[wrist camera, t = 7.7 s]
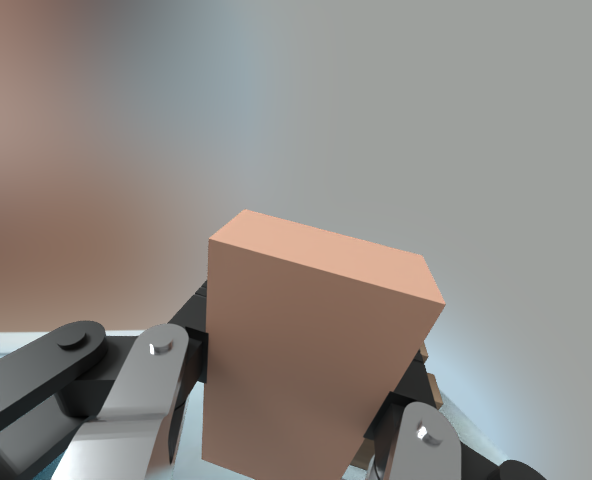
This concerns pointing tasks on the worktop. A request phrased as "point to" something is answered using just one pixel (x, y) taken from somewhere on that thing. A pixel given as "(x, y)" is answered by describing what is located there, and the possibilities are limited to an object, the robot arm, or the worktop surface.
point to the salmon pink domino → (304, 344)
